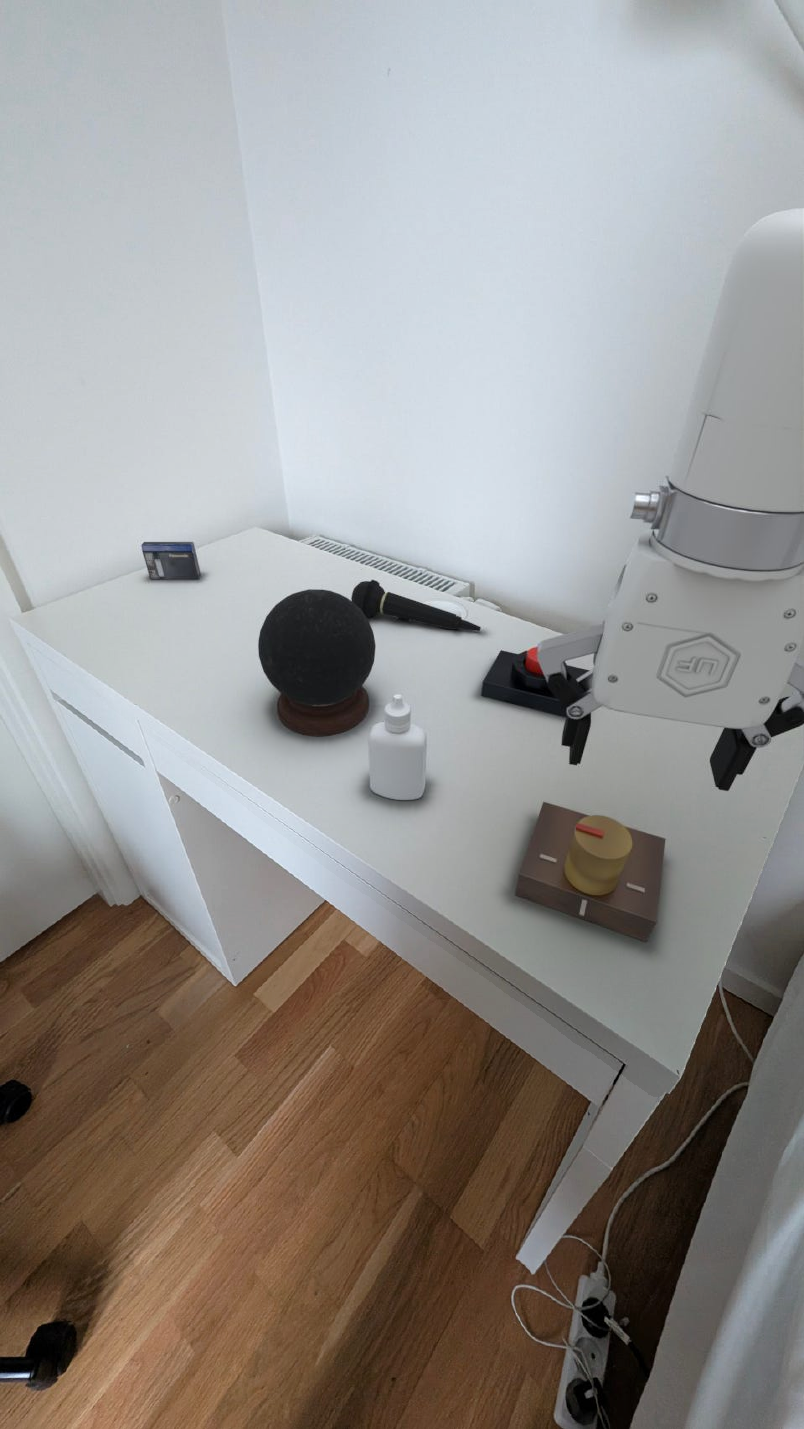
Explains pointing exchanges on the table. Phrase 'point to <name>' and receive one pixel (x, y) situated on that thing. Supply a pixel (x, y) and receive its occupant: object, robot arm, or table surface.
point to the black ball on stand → (318, 661)
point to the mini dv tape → (171, 560)
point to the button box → (523, 684)
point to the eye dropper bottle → (397, 754)
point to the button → (533, 661)
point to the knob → (597, 854)
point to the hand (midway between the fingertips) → (644, 763)
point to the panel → (617, 910)
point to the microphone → (403, 607)
